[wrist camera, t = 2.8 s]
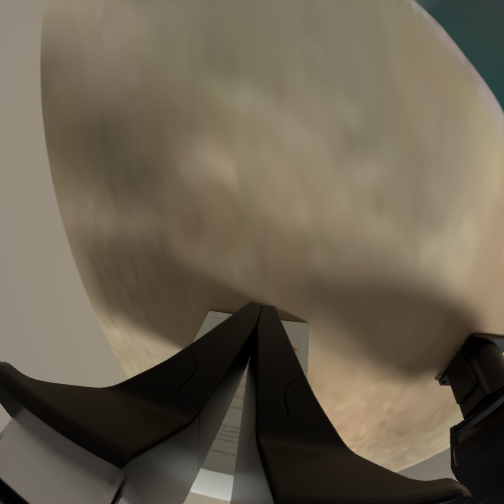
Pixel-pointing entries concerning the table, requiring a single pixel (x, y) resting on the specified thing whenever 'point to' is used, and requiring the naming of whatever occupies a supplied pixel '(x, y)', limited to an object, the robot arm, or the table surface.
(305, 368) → the small box
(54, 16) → the table surface
